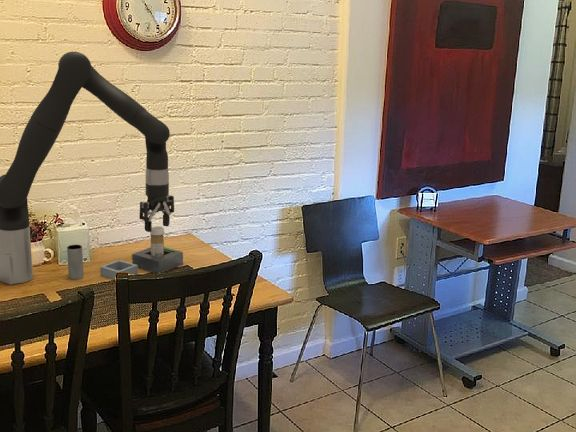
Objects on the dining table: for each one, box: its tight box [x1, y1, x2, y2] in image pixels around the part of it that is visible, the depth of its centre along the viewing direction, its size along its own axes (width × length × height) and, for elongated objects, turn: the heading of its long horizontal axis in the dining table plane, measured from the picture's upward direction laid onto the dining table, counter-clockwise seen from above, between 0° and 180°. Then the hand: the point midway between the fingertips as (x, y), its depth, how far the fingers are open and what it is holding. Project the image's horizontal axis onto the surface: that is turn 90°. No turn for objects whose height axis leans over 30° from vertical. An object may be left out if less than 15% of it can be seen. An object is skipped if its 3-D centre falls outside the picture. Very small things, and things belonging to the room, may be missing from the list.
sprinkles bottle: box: [149, 226, 165, 257], centre depth 218 cm, size 5×5×13 cm
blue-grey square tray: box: [99, 259, 139, 281], centre depth 209 cm, size 8×8×3 cm
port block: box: [131, 246, 184, 274], centre depth 219 cm, size 12×12×5 cm
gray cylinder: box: [66, 244, 84, 281], centre depth 205 cm, size 4×4×10 cm
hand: (157, 228), depth 216 cm, fingers open, 8 cm apart
